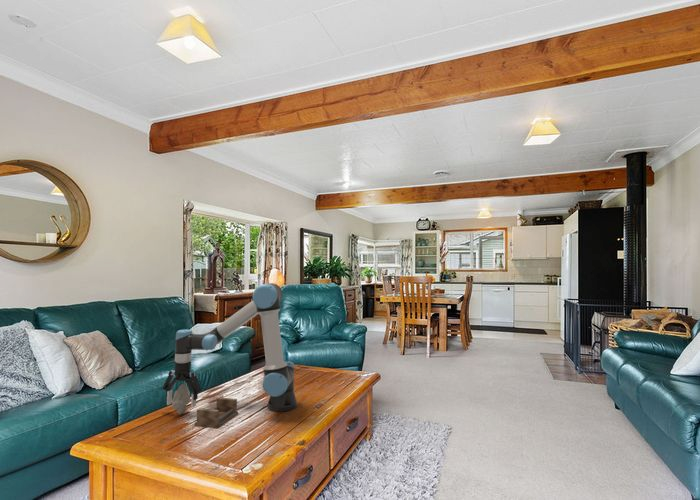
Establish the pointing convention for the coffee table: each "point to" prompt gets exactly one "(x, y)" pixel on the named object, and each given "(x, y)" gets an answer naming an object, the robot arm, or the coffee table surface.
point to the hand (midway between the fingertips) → (181, 405)
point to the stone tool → (181, 398)
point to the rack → (217, 413)
